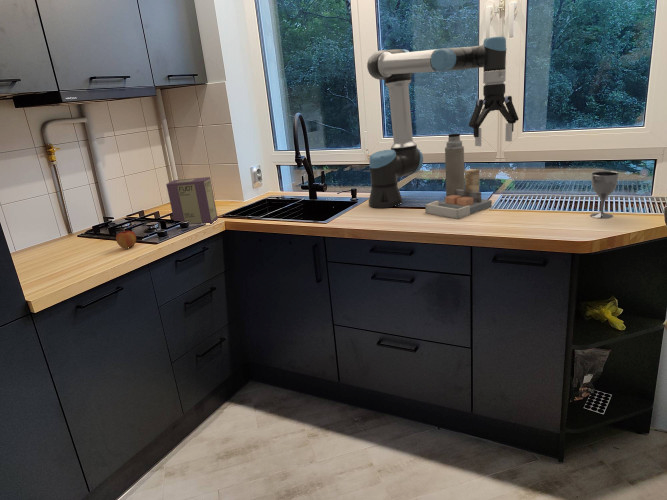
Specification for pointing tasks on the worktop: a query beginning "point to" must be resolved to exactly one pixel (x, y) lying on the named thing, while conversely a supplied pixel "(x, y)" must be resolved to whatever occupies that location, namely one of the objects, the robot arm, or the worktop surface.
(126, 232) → the apple
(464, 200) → the tile
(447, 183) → the thermos bottle
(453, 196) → the tile
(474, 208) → the board
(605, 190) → the wine glass
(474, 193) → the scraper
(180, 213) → the box
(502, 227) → the worktop surface
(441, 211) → the tray
